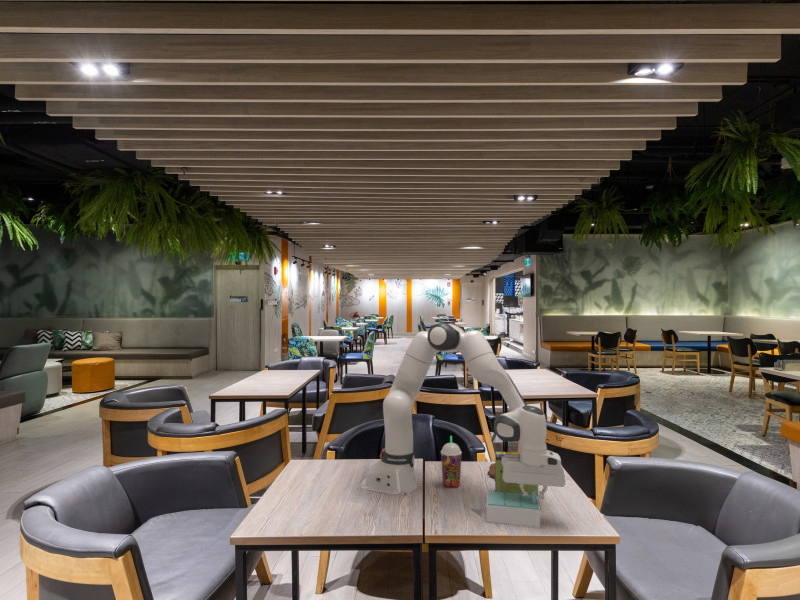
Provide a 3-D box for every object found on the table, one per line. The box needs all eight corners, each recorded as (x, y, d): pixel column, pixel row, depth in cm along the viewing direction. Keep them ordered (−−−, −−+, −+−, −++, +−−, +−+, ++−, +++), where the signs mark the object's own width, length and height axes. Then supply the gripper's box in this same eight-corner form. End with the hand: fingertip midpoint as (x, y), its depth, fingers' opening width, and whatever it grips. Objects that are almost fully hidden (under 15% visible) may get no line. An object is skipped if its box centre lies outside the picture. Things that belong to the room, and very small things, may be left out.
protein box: (538, 505, 165) (538, 462, 165) (495, 502, 168) (495, 459, 168) (536, 494, 175) (535, 453, 175) (495, 490, 178) (494, 451, 178)
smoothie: (448, 491, 177) (448, 440, 178) (437, 484, 185) (436, 434, 185) (466, 487, 181) (465, 437, 181) (454, 480, 189) (453, 432, 189)
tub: (486, 523, 151) (486, 505, 151) (487, 509, 162) (487, 492, 162) (540, 529, 147) (539, 510, 148) (537, 513, 158) (537, 496, 158)
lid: (487, 508, 152) (487, 491, 152) (488, 495, 162) (488, 479, 162) (538, 513, 148) (538, 495, 148) (536, 499, 158) (536, 483, 158)
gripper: (501, 456, 153) (501, 498, 153) (565, 461, 148) (566, 503, 148) (501, 450, 159) (501, 490, 159) (563, 454, 154) (563, 495, 154)
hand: (533, 497), depth 153 cm, fingers open, 4 cm apart
